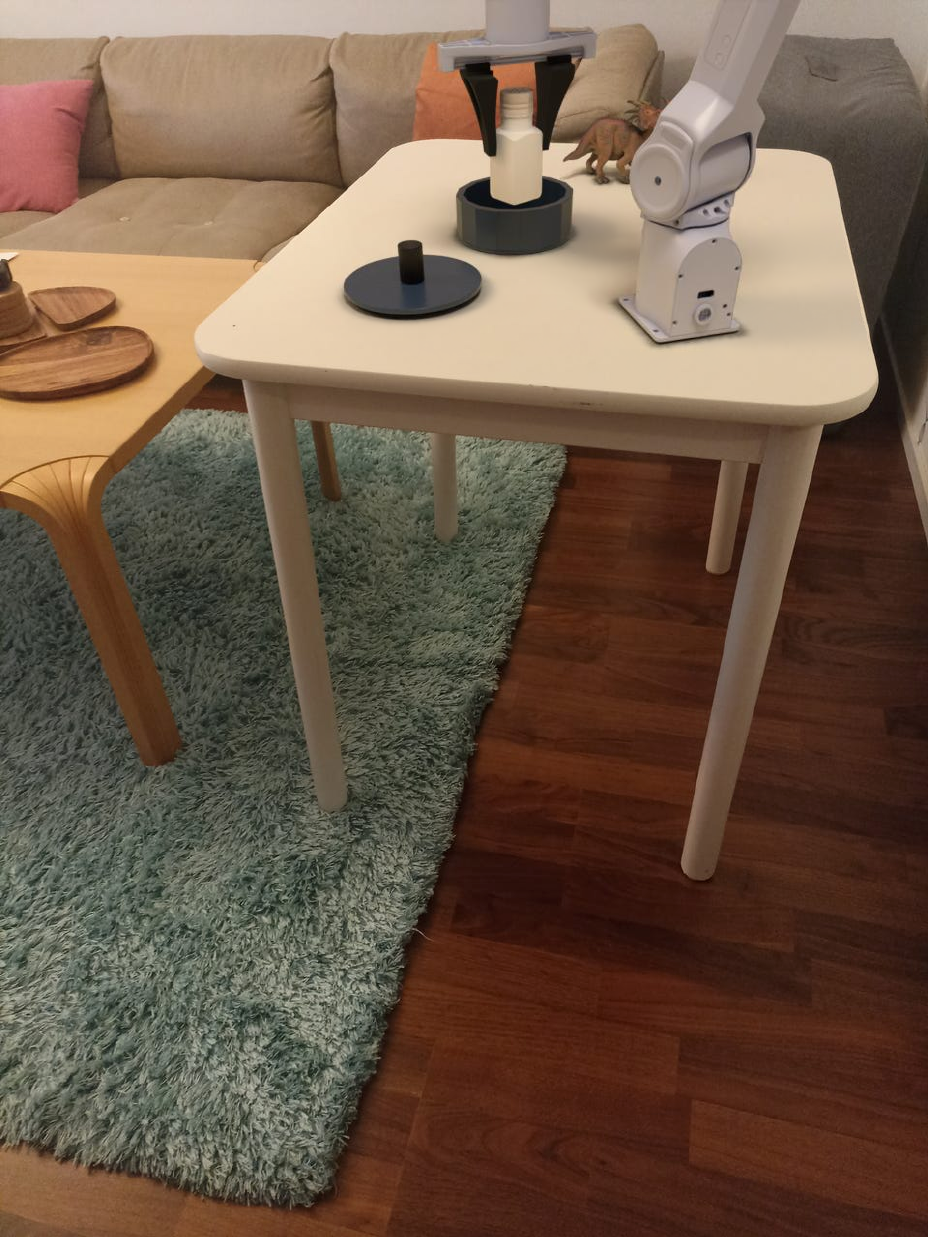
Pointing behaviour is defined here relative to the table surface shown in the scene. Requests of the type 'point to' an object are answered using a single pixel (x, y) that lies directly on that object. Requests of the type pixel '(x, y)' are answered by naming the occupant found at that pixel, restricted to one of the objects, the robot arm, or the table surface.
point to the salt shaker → (517, 150)
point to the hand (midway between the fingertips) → (516, 150)
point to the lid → (412, 282)
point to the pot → (514, 219)
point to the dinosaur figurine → (616, 139)
